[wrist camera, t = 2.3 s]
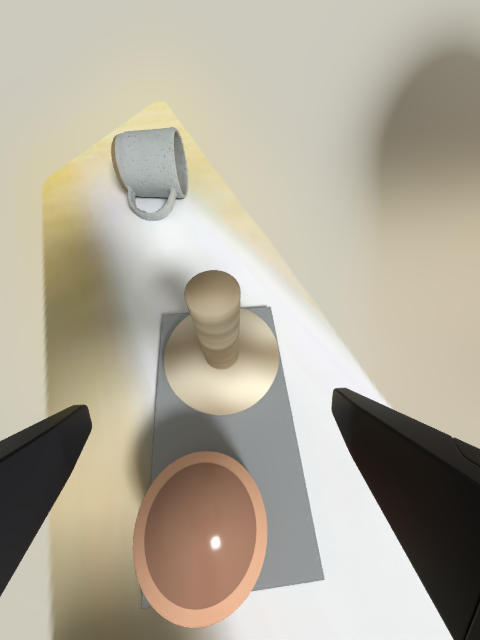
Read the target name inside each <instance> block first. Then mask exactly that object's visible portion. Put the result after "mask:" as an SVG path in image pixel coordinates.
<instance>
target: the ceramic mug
mask: <svg viewBox="0 0 480 640" xmlns="http://www.w3.org/2000/svg"><path fill="white" fill-rule="evenodd" d="M111 154H112V162H113V166H114V169H115V173H116V175H117V177H118V180H119V182H120V183H121V185H122V187H123V188H124V189H125V190H126V191H127V192H128V201H129V203H130V206H131V207H132V209H133V210H134V211H135V212H136V214H137V215H139V216H140V217H141V218H143V219H146V220H151V221H156V220H161V219H163V218H165V217H166V216H167V215H168V214H169V213H170V212H171V211H172V209H173V206H174V203H175V199H176V198H185V197H186V195H187V192H188V169H187V162H186V156H185V151H184V147H183V143H182V139H181V136H180V134H179V131H178V130H177V129H176V128H173V127H171V128H163V129H153V130H140V131H128V132H124V133H121V134H118V135H116V136H115V137H114V139H113V142H112V146H111ZM135 196H140V197H164V198H168V200H167V202H166V204H165V205H164V206H163V207H162V208H161V209H159V210H158V211H156V212H155V213H147V212H145V211H141V210H139V209H138V208H136V205H135Z"/></svg>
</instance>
